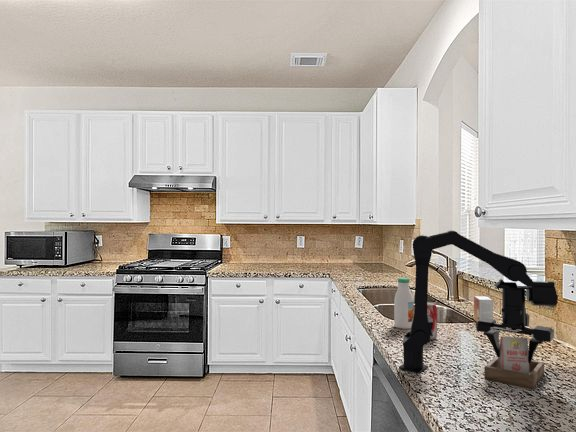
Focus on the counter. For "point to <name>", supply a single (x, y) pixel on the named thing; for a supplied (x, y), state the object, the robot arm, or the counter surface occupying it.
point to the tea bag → (514, 354)
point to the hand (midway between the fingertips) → (514, 360)
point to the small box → (483, 308)
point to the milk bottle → (403, 305)
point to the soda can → (432, 314)
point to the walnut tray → (514, 374)
